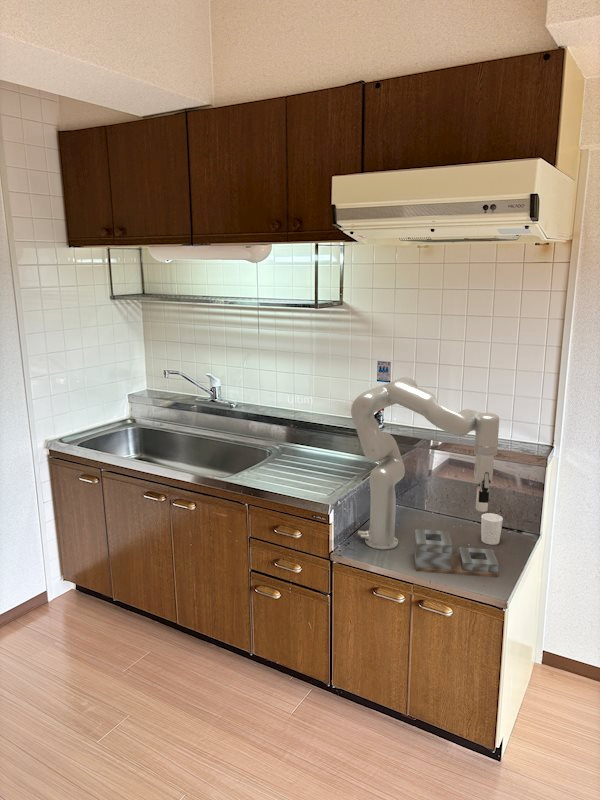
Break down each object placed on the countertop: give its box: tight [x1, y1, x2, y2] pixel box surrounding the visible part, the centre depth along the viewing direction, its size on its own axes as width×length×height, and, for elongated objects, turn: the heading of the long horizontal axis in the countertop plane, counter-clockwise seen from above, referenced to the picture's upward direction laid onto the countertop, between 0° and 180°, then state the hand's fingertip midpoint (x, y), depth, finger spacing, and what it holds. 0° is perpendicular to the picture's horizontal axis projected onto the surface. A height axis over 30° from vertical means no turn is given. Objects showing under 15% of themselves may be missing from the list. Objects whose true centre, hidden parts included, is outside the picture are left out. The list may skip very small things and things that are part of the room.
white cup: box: [480, 512, 504, 546], centre depth 237 cm, size 8×8×10 cm
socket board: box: [413, 528, 499, 578], centre depth 218 cm, size 28×14×10 cm, turn 82°
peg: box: [475, 485, 489, 513], centre depth 213 cm, size 4×4×8 cm
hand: (482, 499), depth 213 cm, fingers closed on peg, 4 cm apart
